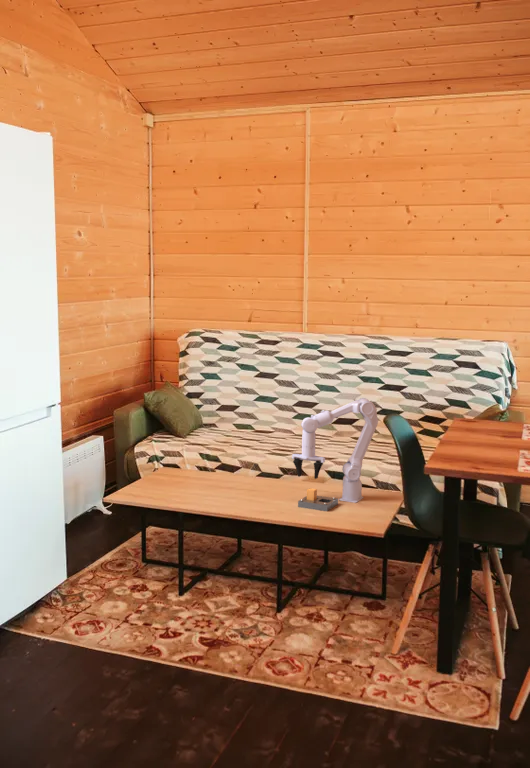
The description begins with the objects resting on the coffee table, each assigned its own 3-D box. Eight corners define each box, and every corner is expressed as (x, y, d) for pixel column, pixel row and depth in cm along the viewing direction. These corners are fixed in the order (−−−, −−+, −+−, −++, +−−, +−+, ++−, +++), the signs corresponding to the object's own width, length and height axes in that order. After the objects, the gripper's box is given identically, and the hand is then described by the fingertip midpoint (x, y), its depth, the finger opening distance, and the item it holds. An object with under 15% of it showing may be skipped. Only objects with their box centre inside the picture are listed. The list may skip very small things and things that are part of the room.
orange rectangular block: (309, 503, 327) (309, 488, 326) (316, 504, 325) (316, 489, 325) (306, 505, 324) (306, 489, 323) (313, 506, 322) (313, 490, 322)
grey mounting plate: (309, 500, 331) (309, 493, 331) (337, 504, 326) (338, 497, 325) (298, 506, 321) (298, 499, 320) (327, 511, 315) (327, 504, 315)
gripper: (289, 445, 329) (288, 477, 330) (320, 449, 322) (320, 481, 324) (296, 442, 335) (295, 473, 337) (327, 446, 329) (326, 477, 330)
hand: (307, 477), depth 331 cm, fingers open, 7 cm apart
